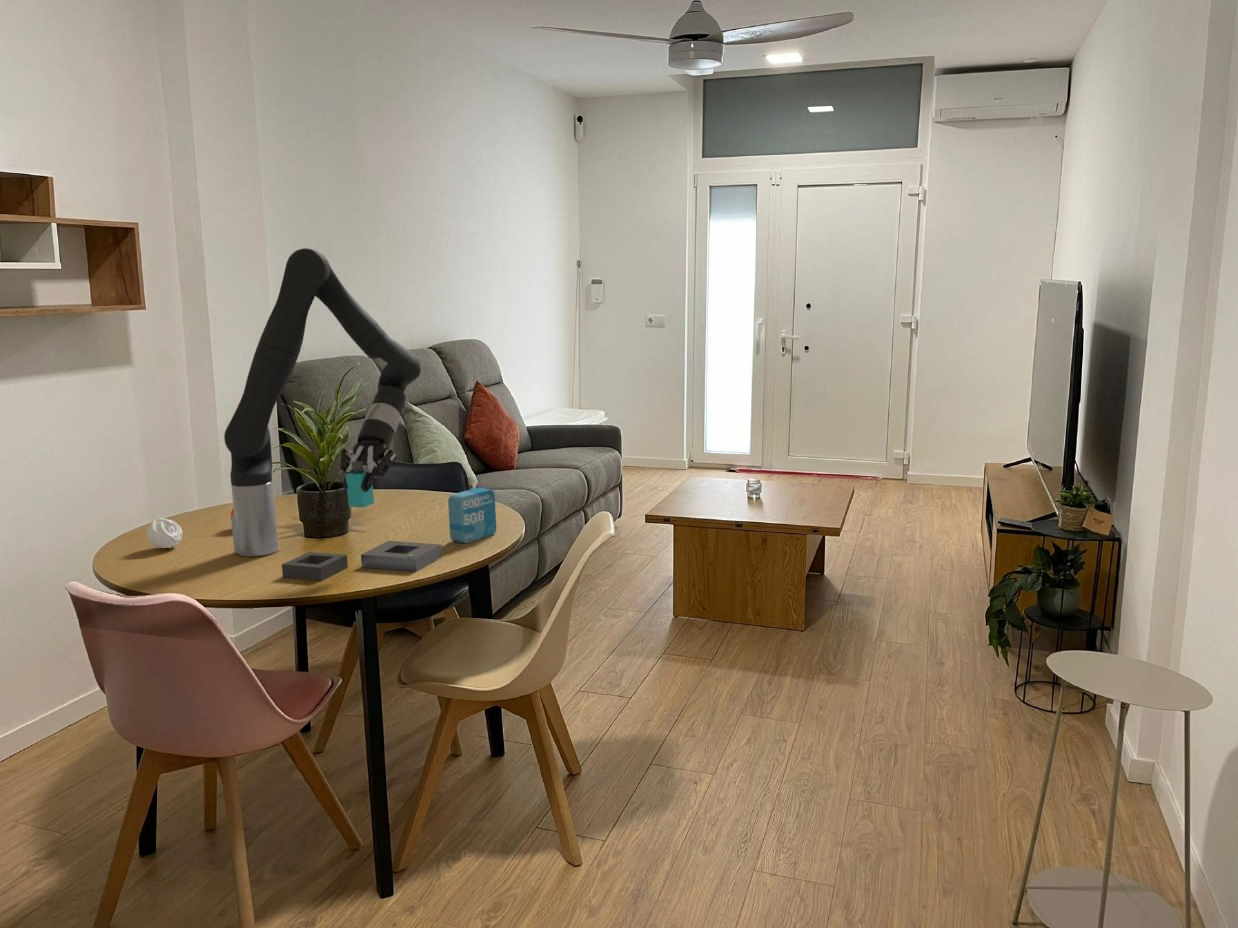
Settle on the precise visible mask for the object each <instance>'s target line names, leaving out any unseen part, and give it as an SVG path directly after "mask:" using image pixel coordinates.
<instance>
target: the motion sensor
mask: <svg viewBox="0 0 1238 928" xmlns="http://www.w3.org/2000/svg"><path fill="white" fill-rule="evenodd" d="M146 535H147V539H148V540H149V543H151V545H152V546H153V547H154V548H156V547H157V548H156V549H159V548H164V547H172V546H175V545H176V546H177V545H179V543H181V541H182V540H183V529H182V528H181V526H180V525H179V524H178V523H177V522H176V521H174V520H171V519H167V518H163V517H158V518H157V519H155V520H153V521H152V522H151V523H150V524H149V526H148V527H147V531H146ZM176 546H175V547H176Z"/></svg>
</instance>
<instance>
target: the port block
mask: <svg viewBox="0 0 1238 928" xmlns="http://www.w3.org/2000/svg"><path fill="white" fill-rule="evenodd" d="M441 556H443V555H442V544H441V543H440V544H438V543H427V542H412V541H401V540H400V541H397V540H387V541H386V542H383V543H382V544H379V545H378V546H374V547H373V548H372V549H369V550H367V551H365V552H363V553H361V554H360V561H361V568H367V569H378V570H392V571H405V572H414V573H415V572H418V571H420V570H422V569H423V568H425V567H427V566H429V565H430V564H432V563H434V562H435V561H437V560H439V559H440V558H442V557H441ZM438 558H439V559H438ZM433 561H434V562H433Z"/></svg>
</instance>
